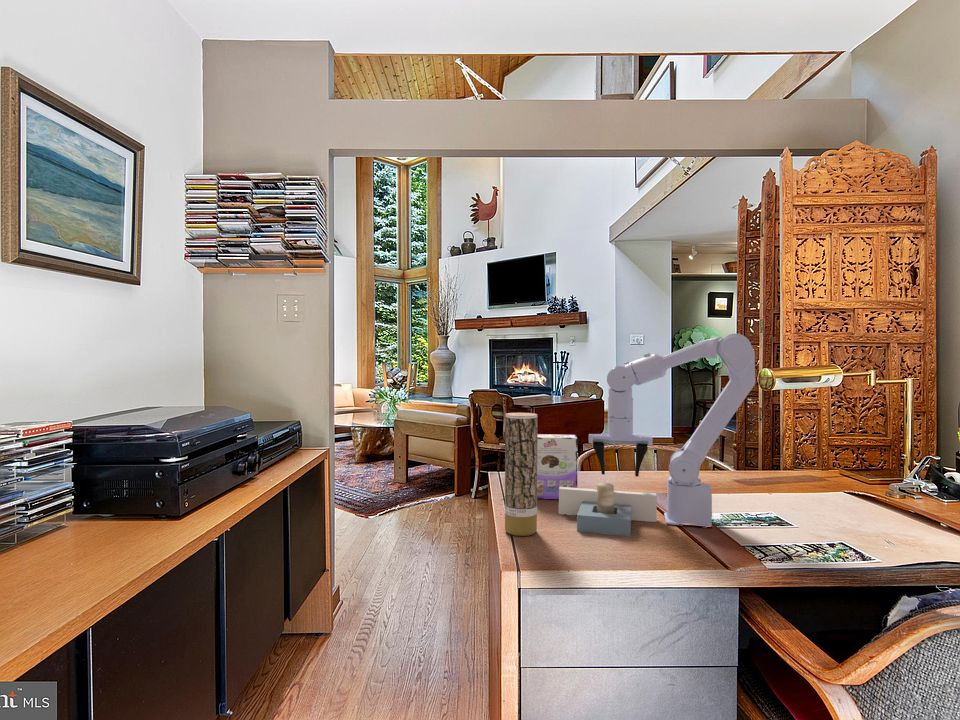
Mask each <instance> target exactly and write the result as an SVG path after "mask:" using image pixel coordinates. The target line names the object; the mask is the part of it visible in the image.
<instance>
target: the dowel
mask: <svg viewBox="0 0 960 720" xmlns="http://www.w3.org/2000/svg"><path fill="white" fill-rule="evenodd" d="M614 487H615V486H614V484H612V483H606V482H603V483H597V484H596V489H597V513H606V514H614V491H615V490H614V489H615V488H614Z"/></svg>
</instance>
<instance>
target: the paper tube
mask: <svg viewBox="0 0 960 720" xmlns="http://www.w3.org/2000/svg"><path fill="white" fill-rule="evenodd" d="M538 417H539V416H538V414H537V413H534V412H533V413H532V412H508V413H507V412H506V413H505V428H504V429H505V430H504V431H505V433H504V434H505V435H504V437H505V439H504V440H505V441H504V457H505V458H504V530H505V532H506V533H508V534H509V535H512V536H516V537H526V536H527V537H528V536H531V535H534V534H535V533H536V532H537V528H538V527H537V526H538V524H537V523H538V519H537V518H538V517H537V516H538V499H537V434H539V433H538V430H539V429H538Z"/></svg>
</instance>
